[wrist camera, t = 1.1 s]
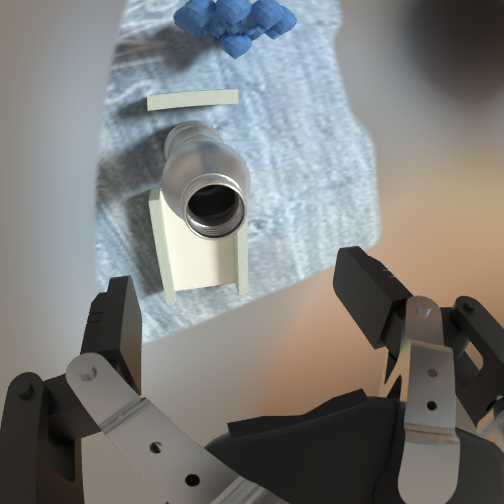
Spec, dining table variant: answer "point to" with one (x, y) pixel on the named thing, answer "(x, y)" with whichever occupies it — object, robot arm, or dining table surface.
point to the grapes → (235, 21)
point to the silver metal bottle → (205, 181)
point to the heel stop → (192, 98)
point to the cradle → (195, 253)
